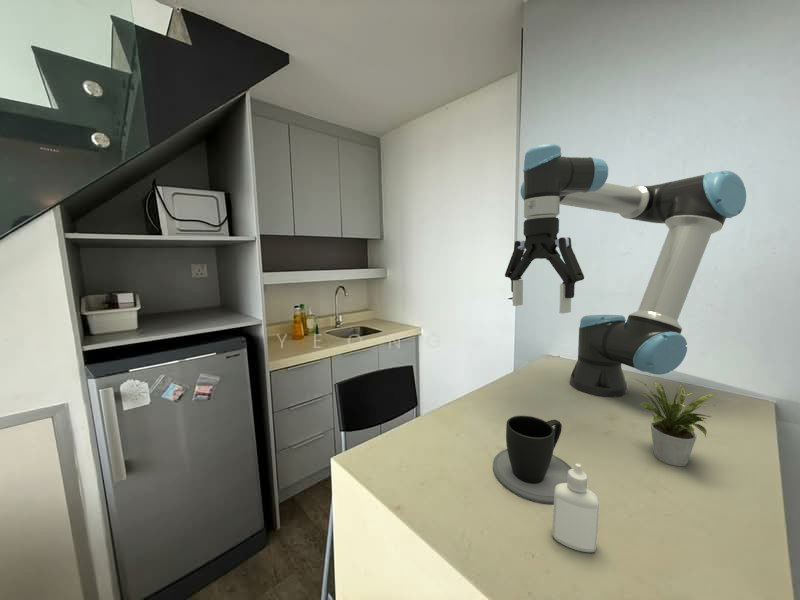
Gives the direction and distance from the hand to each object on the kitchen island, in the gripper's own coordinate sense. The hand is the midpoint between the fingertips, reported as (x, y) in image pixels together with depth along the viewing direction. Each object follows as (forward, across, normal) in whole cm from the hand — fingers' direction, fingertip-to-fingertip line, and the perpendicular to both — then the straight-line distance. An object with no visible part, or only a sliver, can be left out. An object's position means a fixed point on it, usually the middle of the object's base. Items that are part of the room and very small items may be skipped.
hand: (539, 308), depth 77 cm
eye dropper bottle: (+28, +26, -24) cm, 46 cm away
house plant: (+29, +22, +11) cm, 38 cm away
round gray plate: (+28, +14, -17) cm, 36 cm away
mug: (+28, +14, -17) cm, 35 cm away
